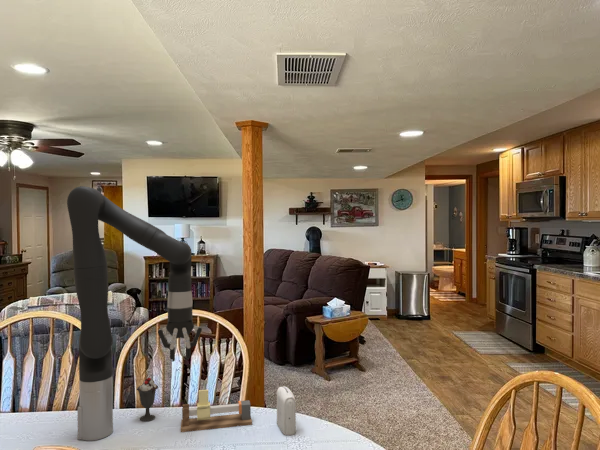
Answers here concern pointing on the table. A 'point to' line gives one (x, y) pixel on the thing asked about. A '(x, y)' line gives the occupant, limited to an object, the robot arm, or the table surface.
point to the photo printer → (286, 411)
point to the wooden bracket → (210, 421)
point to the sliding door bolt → (229, 409)
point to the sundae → (147, 397)
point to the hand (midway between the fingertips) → (180, 359)
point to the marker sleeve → (203, 406)
